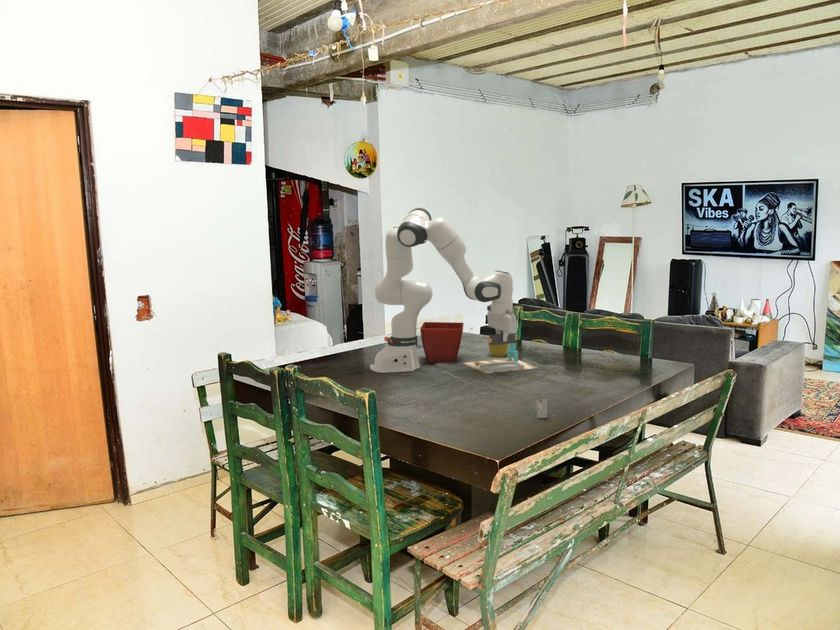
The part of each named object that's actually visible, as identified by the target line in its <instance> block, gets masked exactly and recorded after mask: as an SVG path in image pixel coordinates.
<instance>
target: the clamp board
mask: <svg viewBox="0 0 840 630" xmlns="http://www.w3.org/2000/svg"><path fill="white" fill-rule="evenodd" d="M508 361H513V357H512V359H510V358H497V359H490V360H489V359H487V360H478V361H476V360H475V361H469V362H467V361H466V362H462V365H463V364H464V365H465V366H468V367H470V368H472V369H474V370H476V371H478V372H480V373H483V374H494V373H504V372H512V371H520V370H530V369H531V370H533V369H538V367H537V366H534V364H533V365H532V364H530V363H527V362H524V361H522V360H519V359H518V363H520V364H523V365H524V369H516V370H507V371H498V372H487V371H485V370H483V369H481V368H480V364H489V363H498V362H508Z"/></svg>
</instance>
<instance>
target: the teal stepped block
mask: <svg viewBox="0 0 840 630" xmlns="http://www.w3.org/2000/svg"><path fill="white" fill-rule="evenodd" d="M506 355H507V358H510V359H512V358H513V361H515V362H518V360H519V351H518V350H517V343H516V342H515V343H511V344H509V348H508V350H507V353H506ZM507 358H506V359H507Z"/></svg>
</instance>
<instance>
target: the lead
mask: <svg viewBox="0 0 840 630" xmlns="http://www.w3.org/2000/svg"><path fill="white" fill-rule="evenodd" d="M488 336H489V337H486V340H487V343H488V345H489V344H491V345H500V344H508V345H510V344H511V343H516V341H517V340H518V335H516V333H509V334H508V337H507V341H505V342H504V341H502V337H503V333H501V334H496V333H494V334H489V335H488Z"/></svg>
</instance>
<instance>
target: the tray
mask: <svg viewBox="0 0 840 630" xmlns="http://www.w3.org/2000/svg"><path fill="white" fill-rule="evenodd" d="M480 368H481V369H483V370H485V371H487V372H496V373H499V372H498V371H505V372H508V371H507V370H514V371H517V370H516V369H523V370H525V369H524V365H523V364H520V363H518V362H515V361H508V362H498V363H489V364H480Z"/></svg>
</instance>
